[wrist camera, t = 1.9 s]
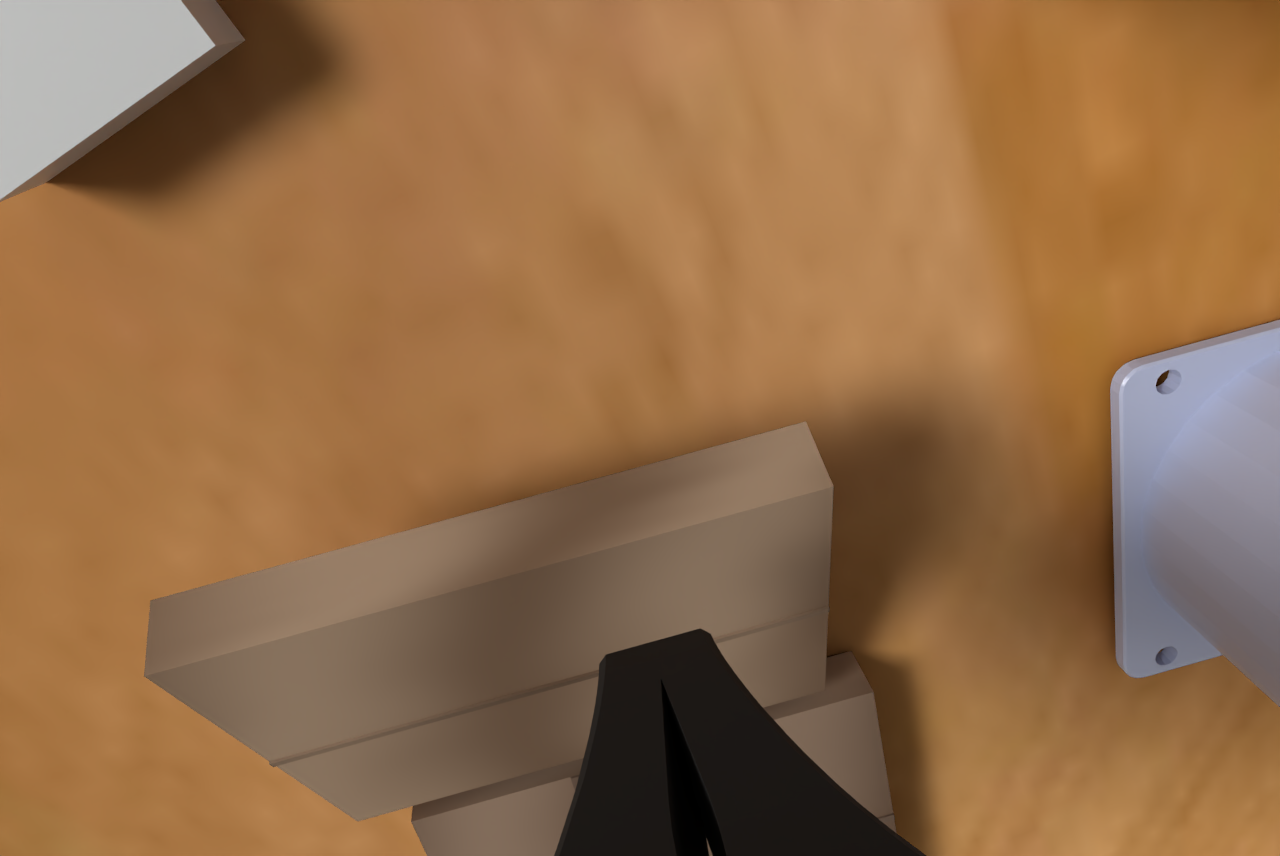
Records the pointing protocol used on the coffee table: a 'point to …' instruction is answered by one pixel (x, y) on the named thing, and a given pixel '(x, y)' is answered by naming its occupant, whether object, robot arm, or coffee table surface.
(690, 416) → the coffee table surface
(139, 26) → the light grey block
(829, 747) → the laid board
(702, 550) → the board
